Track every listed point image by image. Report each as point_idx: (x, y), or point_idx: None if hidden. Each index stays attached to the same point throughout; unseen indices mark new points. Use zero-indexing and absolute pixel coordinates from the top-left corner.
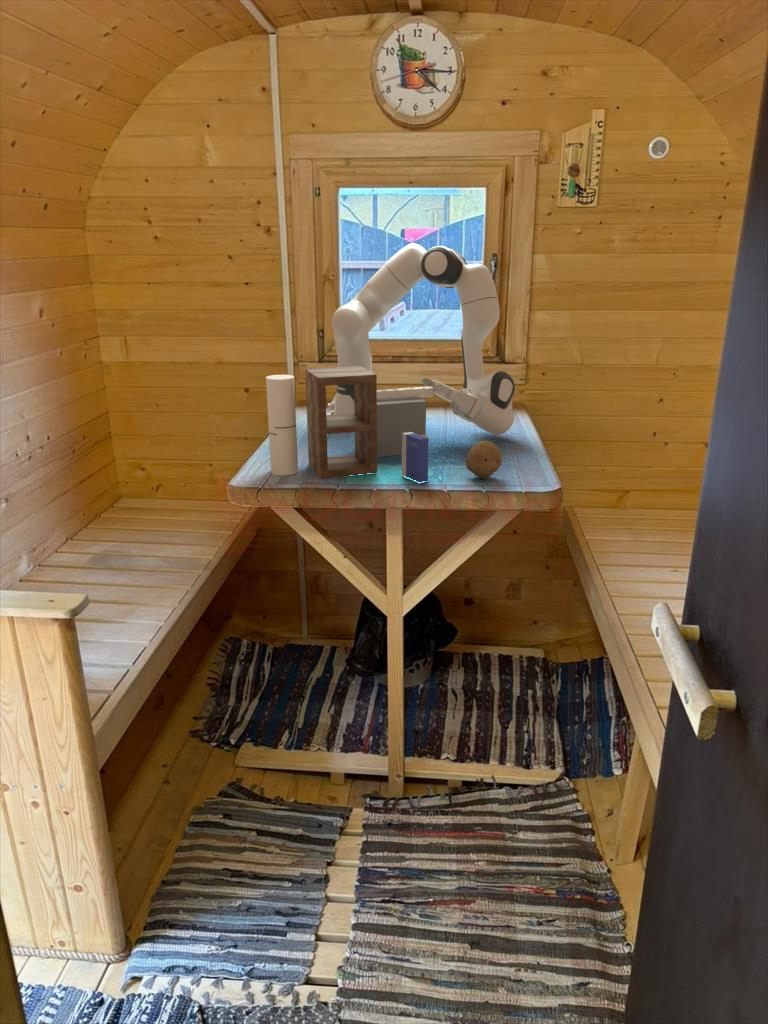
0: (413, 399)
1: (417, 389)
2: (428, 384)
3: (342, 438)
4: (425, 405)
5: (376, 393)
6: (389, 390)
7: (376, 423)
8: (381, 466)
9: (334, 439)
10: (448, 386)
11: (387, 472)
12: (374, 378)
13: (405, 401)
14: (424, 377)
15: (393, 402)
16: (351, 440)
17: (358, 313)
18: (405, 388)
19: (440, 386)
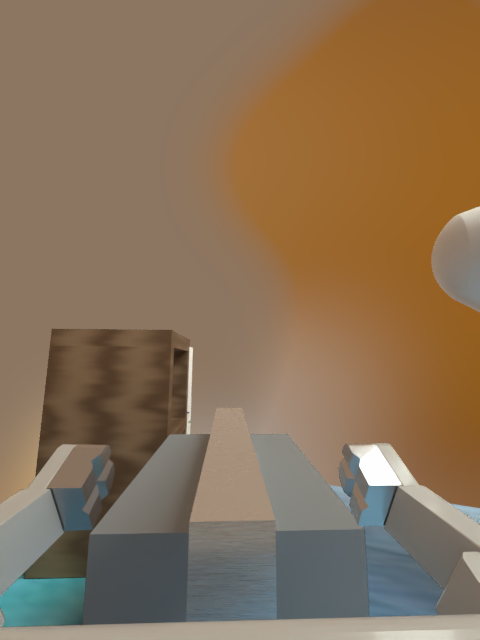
0: (176, 501)
1: (203, 463)
2: (418, 545)
3: (395, 579)
4: (89, 563)
5: (47, 370)
6: (220, 422)
7: (40, 440)
8: (65, 605)
9: (377, 561)
10: (45, 629)
11: (3, 605)
12: (54, 337)
13: (157, 477)
14: (375, 444)
15: (166, 457)
16: (375, 596)
17: (469, 216)
18: (240, 442)
19: (40, 486)
